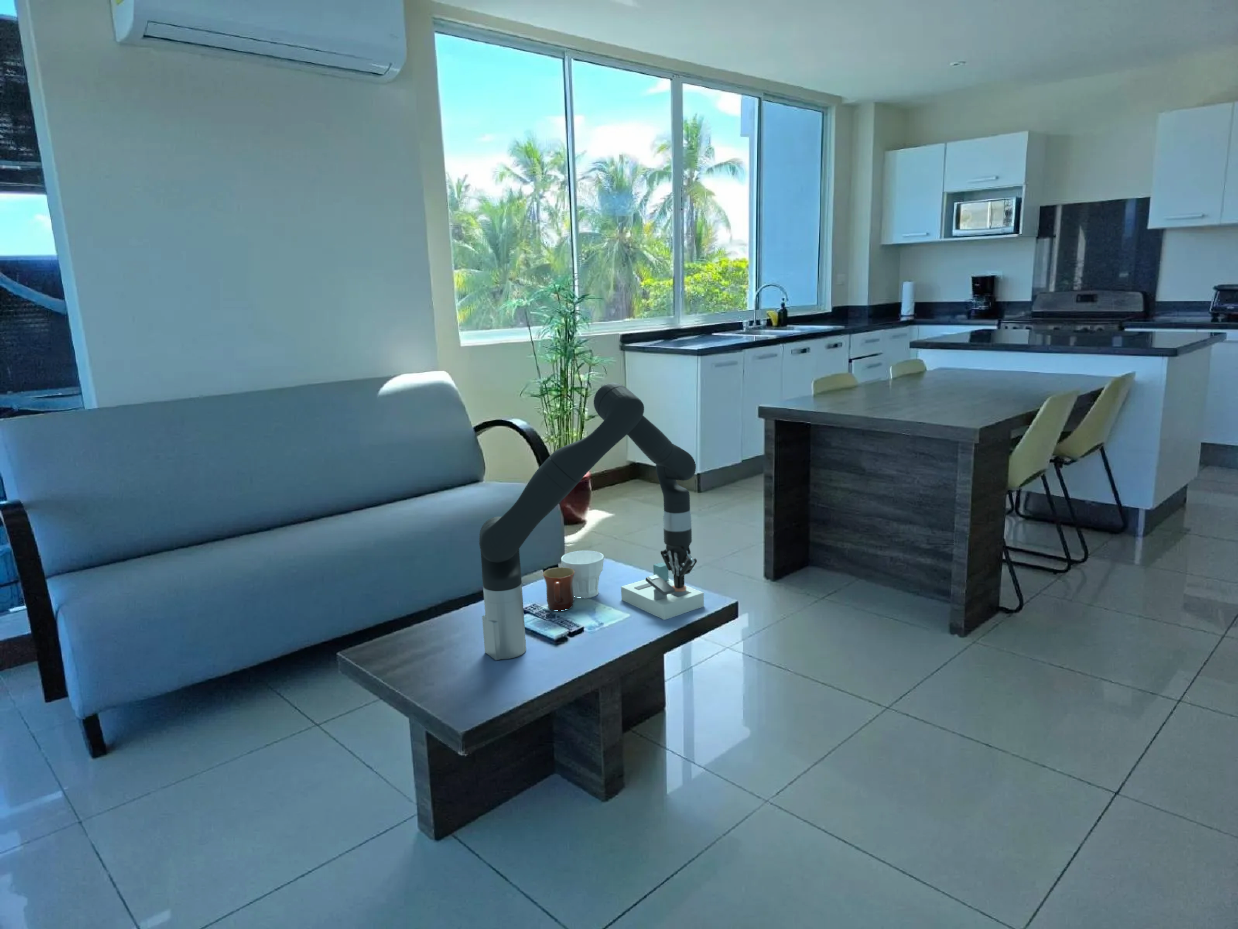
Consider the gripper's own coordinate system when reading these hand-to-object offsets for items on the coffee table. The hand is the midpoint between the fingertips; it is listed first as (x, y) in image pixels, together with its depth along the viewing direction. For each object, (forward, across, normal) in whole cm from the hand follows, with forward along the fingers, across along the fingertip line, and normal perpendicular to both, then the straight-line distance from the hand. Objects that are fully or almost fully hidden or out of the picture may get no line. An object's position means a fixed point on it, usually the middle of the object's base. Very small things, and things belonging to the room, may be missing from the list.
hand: (679, 587), depth 216 cm
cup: (+6, +26, +14) cm, 30 cm away
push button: (+5, 0, 0) cm, 5 cm away
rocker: (-2, 0, +6) cm, 7 cm away
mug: (+6, +20, +26) cm, 33 cm away
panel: (+6, +5, +2) cm, 8 cm away
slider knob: (+1, +10, -2) cm, 10 cm away
